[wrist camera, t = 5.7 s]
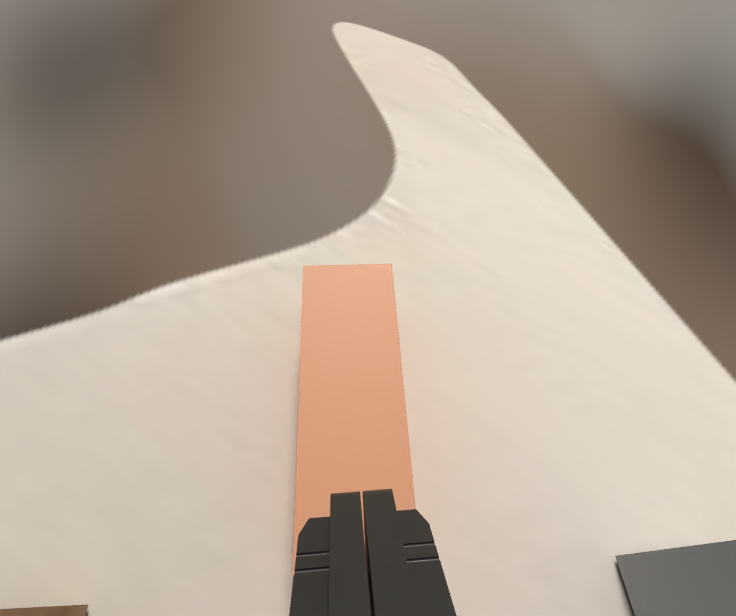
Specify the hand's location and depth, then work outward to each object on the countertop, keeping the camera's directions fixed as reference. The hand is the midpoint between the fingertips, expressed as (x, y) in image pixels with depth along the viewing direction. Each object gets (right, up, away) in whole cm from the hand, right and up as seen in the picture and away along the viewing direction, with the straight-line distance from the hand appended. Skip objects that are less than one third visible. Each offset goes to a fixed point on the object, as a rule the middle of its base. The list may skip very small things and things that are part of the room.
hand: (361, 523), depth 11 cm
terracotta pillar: (0, -4, +5) cm, 6 cm away
